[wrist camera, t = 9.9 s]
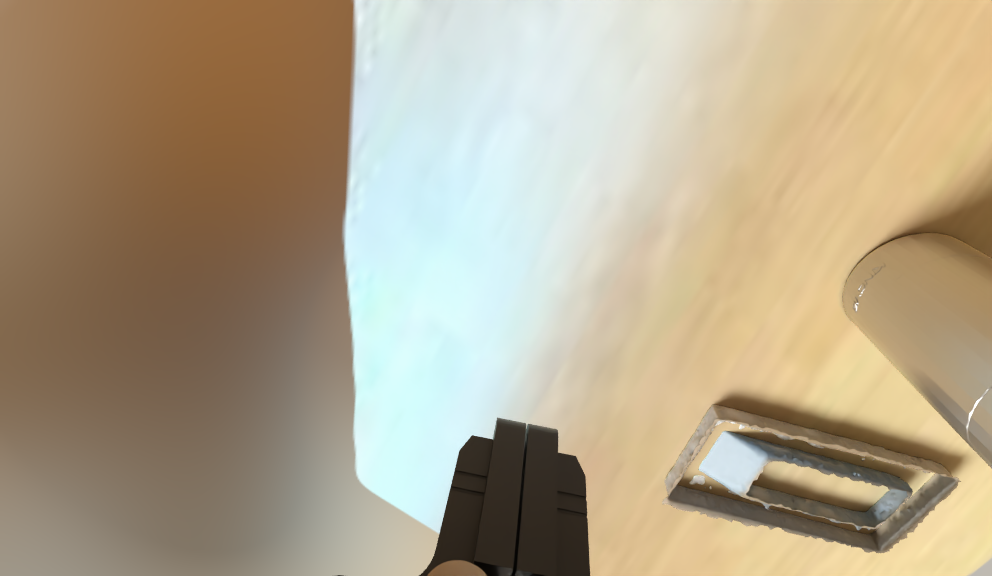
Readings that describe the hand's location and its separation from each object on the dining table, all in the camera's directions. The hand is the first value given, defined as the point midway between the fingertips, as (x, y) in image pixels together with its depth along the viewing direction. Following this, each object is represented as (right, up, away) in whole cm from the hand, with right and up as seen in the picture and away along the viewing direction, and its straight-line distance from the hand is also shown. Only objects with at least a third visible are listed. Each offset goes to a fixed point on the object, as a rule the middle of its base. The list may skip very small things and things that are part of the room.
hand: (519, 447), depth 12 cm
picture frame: (+31, -15, +39) cm, 51 cm away
